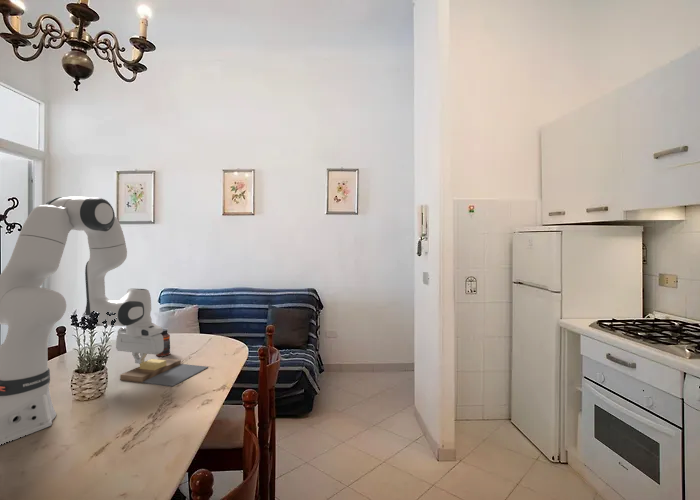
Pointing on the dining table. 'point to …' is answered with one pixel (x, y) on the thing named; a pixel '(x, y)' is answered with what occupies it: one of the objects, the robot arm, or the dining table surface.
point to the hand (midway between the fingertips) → (139, 363)
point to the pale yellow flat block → (153, 364)
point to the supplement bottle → (165, 343)
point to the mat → (175, 375)
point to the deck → (148, 371)
